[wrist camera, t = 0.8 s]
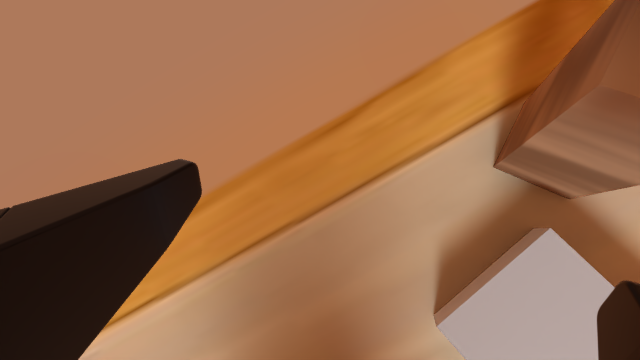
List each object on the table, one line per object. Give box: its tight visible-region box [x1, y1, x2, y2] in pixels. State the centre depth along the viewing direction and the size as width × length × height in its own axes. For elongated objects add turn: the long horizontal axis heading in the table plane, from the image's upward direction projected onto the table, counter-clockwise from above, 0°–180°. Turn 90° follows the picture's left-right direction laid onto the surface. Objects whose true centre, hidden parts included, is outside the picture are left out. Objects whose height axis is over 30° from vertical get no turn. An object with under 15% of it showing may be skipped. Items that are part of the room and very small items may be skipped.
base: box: [434, 228, 615, 360], centre depth 18 cm, size 7×7×2 cm
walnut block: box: [494, 0, 640, 199], centre depth 14 cm, size 4×4×12 cm
